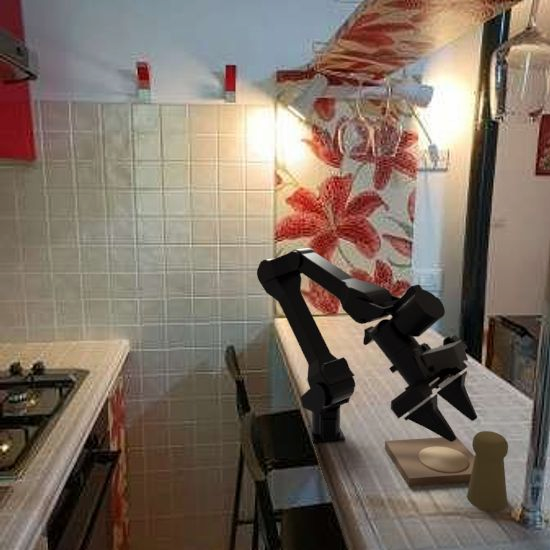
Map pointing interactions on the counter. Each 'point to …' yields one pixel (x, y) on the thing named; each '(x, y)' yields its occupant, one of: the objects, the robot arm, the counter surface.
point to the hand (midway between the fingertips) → (465, 429)
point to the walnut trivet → (431, 460)
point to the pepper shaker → (488, 472)
